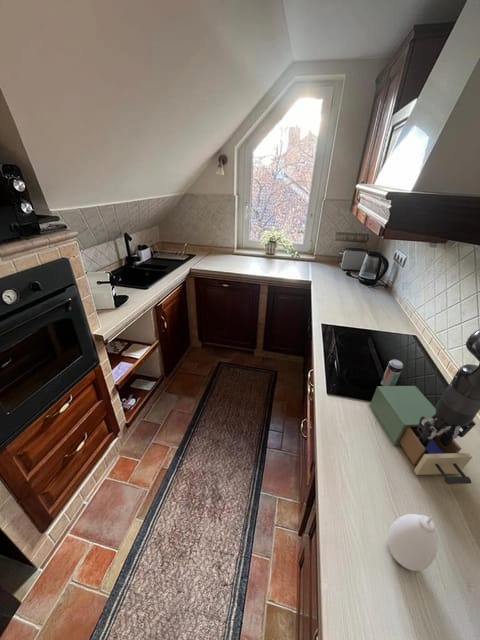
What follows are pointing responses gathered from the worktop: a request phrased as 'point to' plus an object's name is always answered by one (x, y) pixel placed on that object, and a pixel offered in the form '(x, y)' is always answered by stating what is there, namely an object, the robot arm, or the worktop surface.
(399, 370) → the beer can
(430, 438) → the robot arm
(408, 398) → the cabinet
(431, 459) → the drawer
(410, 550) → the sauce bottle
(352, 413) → the worktop surface
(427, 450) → the blue block
